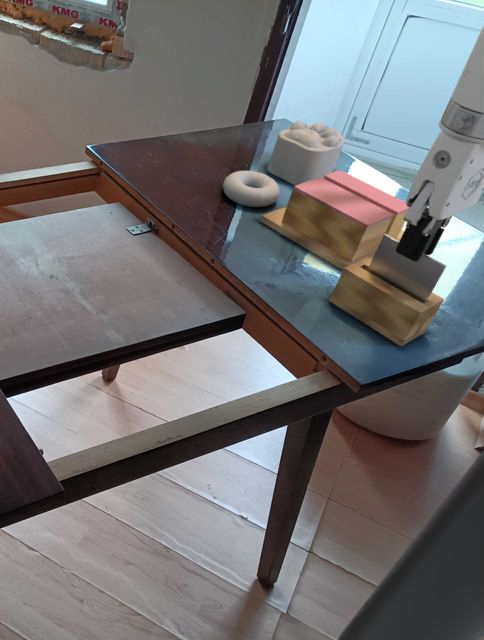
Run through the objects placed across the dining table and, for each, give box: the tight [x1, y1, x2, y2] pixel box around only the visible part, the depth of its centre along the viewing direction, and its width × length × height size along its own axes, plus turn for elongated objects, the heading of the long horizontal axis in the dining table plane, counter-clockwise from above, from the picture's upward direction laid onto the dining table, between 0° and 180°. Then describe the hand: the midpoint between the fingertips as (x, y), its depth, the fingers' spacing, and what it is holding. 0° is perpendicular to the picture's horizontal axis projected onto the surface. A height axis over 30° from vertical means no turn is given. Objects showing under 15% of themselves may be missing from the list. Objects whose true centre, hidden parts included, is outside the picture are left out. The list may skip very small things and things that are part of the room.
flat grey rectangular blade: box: [367, 214, 447, 303], centre depth 93 cm, size 9×2×13 cm, turn 34°
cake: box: [259, 177, 405, 271], centre depth 114 cm, size 20×18×8 cm
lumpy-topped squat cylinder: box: [266, 120, 345, 186], centre depth 132 cm, size 10×13×9 cm
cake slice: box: [324, 169, 410, 239], centre depth 115 cm, size 14×4×7 cm, turn 34°
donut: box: [222, 170, 281, 208], centre depth 124 cm, size 10×4×10 cm
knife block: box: [328, 257, 445, 347], centre depth 98 cm, size 12×6×6 cm, turn 34°
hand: (413, 252), depth 92 cm, fingers closed on flat grey rectangular blade, 2 cm apart
